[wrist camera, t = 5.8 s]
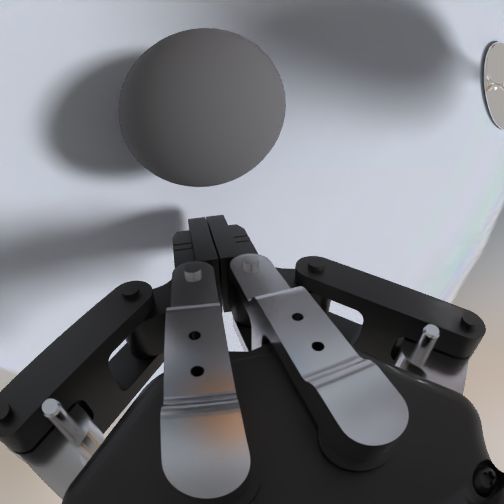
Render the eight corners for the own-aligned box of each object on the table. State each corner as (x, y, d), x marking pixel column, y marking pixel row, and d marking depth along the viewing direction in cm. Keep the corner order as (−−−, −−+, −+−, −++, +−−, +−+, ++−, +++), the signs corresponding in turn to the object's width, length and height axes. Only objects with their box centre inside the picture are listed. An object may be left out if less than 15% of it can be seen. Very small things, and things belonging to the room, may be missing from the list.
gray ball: (126, 232, 9) (134, 147, 12) (295, 212, 10) (253, 136, 14) (93, 54, 5) (124, 29, 8) (330, 48, 6) (265, 23, 9)
